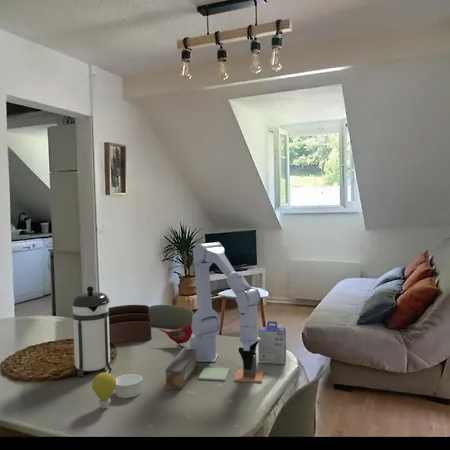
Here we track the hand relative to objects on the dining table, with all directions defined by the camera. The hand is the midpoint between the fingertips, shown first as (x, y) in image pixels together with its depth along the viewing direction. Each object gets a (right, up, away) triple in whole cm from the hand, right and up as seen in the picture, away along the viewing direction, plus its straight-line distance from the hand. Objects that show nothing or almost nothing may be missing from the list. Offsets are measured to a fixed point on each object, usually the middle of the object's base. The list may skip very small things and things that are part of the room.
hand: (249, 364), depth 144 cm
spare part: (0, -3, 0) cm, 3 cm away
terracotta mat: (0, -4, 0) cm, 4 cm away
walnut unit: (-23, -4, +1) cm, 23 cm away
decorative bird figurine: (-28, -3, +32) cm, 43 cm away
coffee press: (-56, -5, +10) cm, 57 cm away
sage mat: (-12, -4, +2) cm, 13 cm away
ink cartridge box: (+9, -3, +14) cm, 17 cm away
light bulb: (-43, -6, -20) cm, 48 cm away
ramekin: (-38, -6, -10) cm, 40 cm away
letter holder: (-51, -3, +44) cm, 67 cm away
